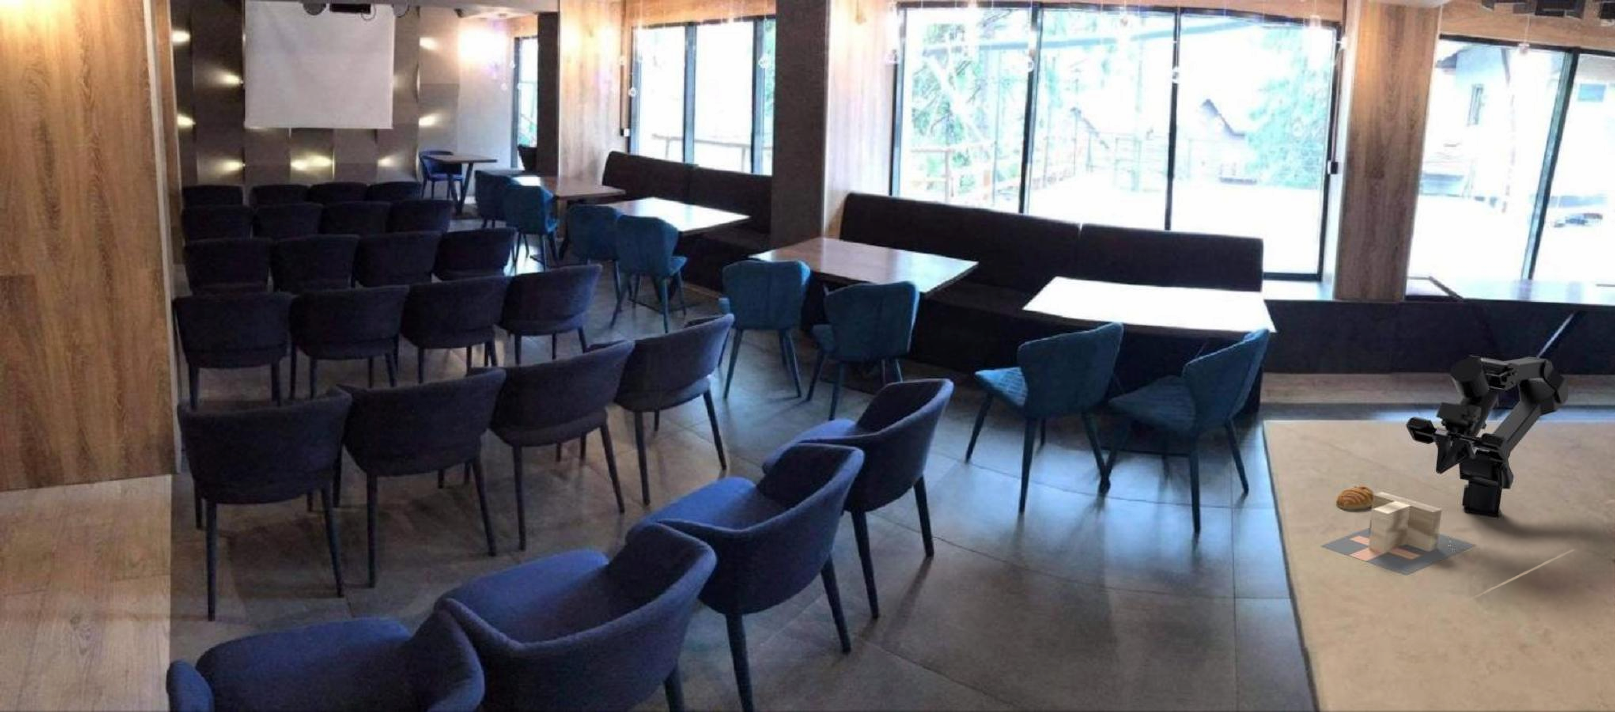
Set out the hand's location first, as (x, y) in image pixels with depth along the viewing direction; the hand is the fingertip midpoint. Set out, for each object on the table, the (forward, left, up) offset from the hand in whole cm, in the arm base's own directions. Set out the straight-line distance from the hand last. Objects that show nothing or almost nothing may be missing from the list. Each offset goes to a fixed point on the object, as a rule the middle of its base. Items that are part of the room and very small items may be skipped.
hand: (1438, 472), depth 233 cm
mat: (+5, +13, -12) cm, 19 cm away
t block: (+6, +14, -12) cm, 19 cm away
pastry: (+15, -9, -13) cm, 21 cm away
